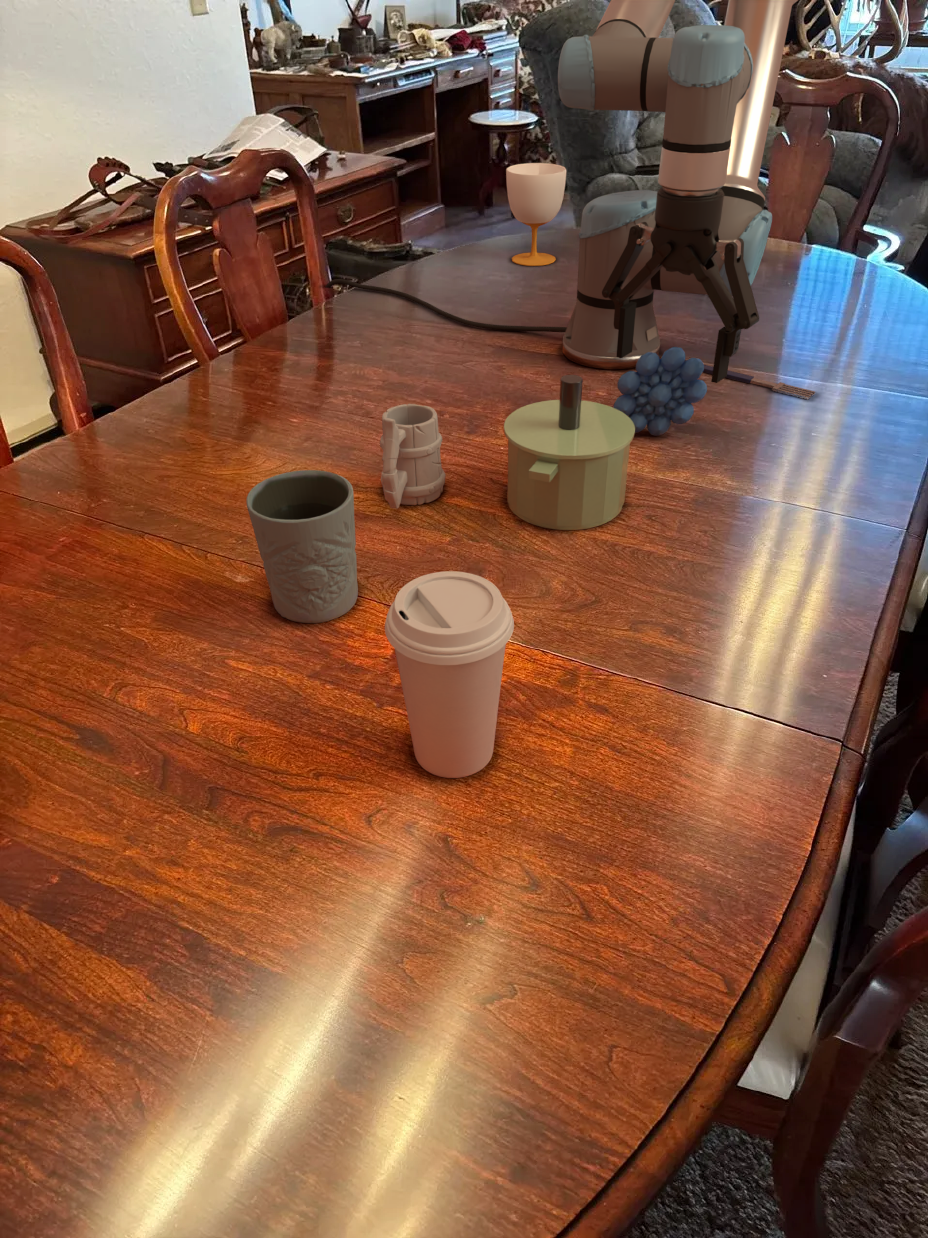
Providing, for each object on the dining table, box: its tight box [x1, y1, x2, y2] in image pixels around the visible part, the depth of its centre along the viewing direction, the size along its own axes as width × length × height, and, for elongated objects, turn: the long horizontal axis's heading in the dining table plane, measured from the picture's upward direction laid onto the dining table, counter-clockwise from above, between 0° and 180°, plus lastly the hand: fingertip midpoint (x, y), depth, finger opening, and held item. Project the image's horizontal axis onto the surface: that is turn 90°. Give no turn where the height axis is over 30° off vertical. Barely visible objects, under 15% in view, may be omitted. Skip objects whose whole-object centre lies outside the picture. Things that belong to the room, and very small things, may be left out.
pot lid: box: [503, 374, 636, 460], centre depth 102 cm, size 15×15×7 cm
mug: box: [379, 403, 447, 510], centre depth 106 cm, size 8×12×12 cm, turn 162°
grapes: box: [612, 346, 708, 437], centre depth 119 cm, size 12×7×12 cm, turn 82°
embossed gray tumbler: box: [245, 469, 359, 624], centre depth 90 cm, size 10×10×12 cm
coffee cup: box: [384, 570, 515, 779], centre depth 71 cm, size 10×10×15 cm
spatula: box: [684, 359, 816, 400], centre depth 136 cm, size 21×3×1 cm, turn 51°
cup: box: [505, 162, 567, 267], centre depth 184 cm, size 12×12×17 cm
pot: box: [506, 439, 631, 531], centre depth 106 cm, size 14×19×9 cm
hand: (670, 366), depth 118 cm, fingers open, 13 cm apart
